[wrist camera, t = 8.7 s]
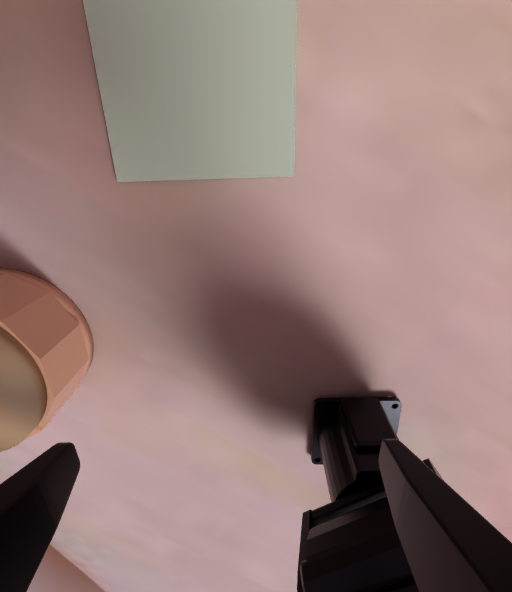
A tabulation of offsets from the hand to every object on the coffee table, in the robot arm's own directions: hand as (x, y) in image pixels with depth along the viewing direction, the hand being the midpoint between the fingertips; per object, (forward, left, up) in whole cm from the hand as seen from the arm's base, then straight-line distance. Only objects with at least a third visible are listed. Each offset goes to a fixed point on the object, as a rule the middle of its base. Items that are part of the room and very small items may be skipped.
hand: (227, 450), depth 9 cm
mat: (+12, +2, -12) cm, 17 cm away
